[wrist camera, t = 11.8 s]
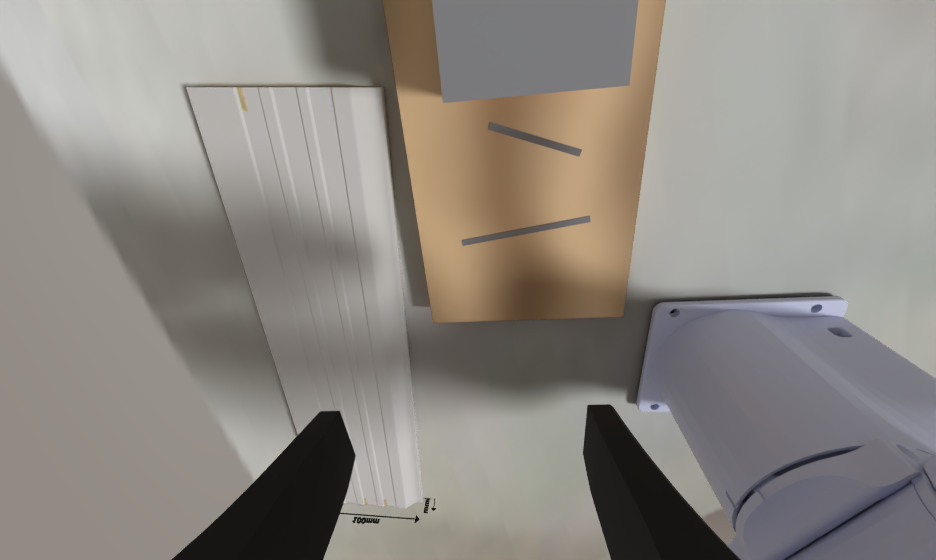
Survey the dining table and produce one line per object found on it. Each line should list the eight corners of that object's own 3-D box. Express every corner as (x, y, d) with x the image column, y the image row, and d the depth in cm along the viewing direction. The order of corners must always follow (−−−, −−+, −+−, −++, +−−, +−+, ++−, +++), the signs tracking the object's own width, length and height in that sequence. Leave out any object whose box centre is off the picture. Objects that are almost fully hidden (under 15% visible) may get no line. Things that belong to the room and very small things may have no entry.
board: (697, -387, 10) (728, -461, 9) (614, 301, 20) (623, 317, 19) (345, -310, 11) (324, -366, 10) (437, 308, 21) (433, 323, 20)
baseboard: (419, 87, 16) (208, 87, 17) (405, 87, 14) (158, 87, 14) (441, 493, 30) (326, 485, 31) (436, 529, 28) (311, 519, 29)
